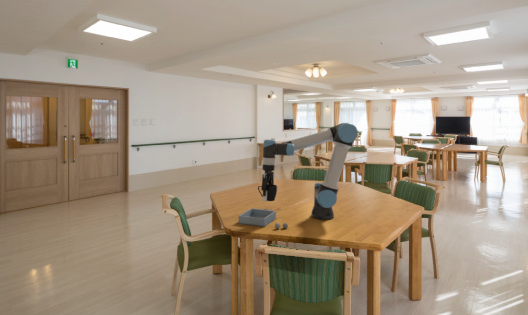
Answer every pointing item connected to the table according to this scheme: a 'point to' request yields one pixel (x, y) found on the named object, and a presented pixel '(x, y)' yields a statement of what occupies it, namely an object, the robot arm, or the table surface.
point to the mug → (270, 192)
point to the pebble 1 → (277, 225)
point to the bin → (257, 217)
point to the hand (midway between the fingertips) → (267, 199)
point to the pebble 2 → (285, 225)
